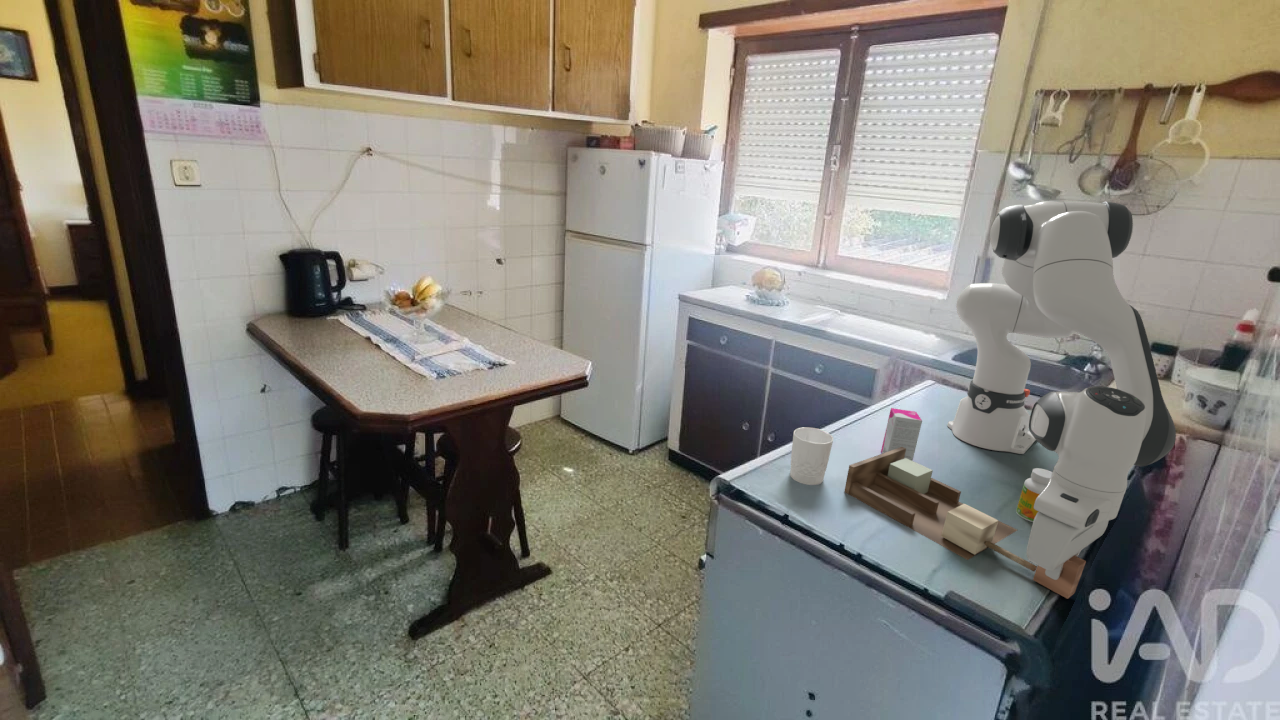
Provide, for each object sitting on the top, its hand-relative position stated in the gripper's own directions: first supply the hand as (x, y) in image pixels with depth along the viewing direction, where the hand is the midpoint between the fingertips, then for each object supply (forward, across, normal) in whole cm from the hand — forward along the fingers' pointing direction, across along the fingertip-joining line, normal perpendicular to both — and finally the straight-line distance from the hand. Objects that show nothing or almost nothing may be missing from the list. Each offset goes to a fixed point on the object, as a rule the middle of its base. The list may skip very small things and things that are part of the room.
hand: (1057, 572), depth 93 cm
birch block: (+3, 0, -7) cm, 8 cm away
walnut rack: (+3, -4, -24) cm, 24 cm away
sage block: (+3, -8, -30) cm, 32 cm away
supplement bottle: (+4, -21, -12) cm, 24 cm away
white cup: (+4, +7, -44) cm, 45 cm away
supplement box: (+4, -19, -40) cm, 44 cm away
